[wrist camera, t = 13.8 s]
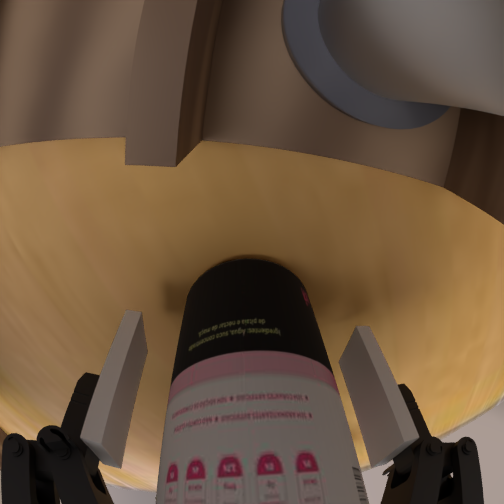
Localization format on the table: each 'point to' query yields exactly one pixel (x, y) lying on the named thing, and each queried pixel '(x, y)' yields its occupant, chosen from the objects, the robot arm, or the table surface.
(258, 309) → the beverage can
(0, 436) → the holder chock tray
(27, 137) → the wooden divided tray
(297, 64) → the cable reel
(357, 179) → the table surface
